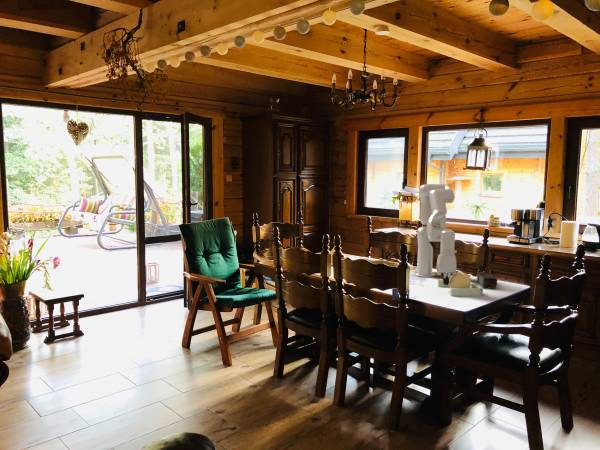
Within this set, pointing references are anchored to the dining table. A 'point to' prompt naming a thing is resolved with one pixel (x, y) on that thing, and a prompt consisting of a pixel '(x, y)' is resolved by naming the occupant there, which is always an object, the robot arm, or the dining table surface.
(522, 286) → the dining table surface
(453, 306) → the dining table surface
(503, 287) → the dining table surface
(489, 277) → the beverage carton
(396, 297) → the flask
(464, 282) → the pale yellow ball
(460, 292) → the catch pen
